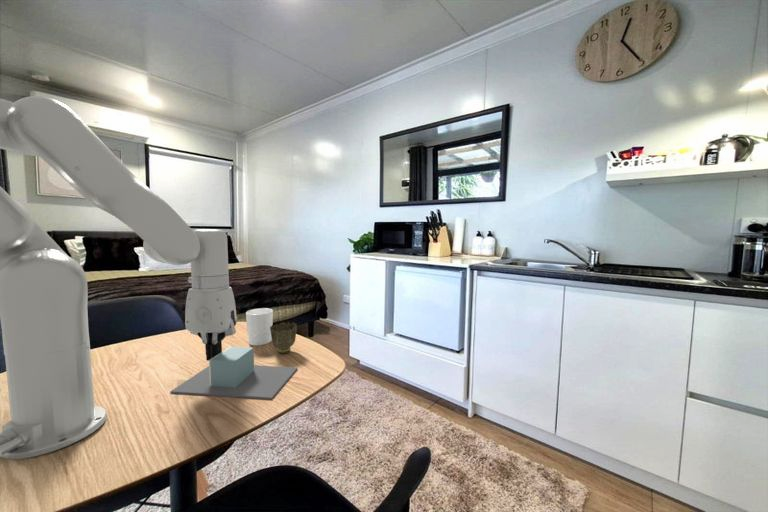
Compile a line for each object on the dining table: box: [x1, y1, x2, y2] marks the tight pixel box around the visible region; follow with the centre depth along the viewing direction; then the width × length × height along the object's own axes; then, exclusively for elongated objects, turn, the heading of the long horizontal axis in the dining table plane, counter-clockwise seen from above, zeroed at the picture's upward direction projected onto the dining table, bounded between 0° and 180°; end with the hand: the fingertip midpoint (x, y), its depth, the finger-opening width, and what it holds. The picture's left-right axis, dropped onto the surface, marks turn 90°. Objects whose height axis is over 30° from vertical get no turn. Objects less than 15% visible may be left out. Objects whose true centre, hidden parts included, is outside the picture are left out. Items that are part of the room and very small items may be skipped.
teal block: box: [208, 346, 255, 387], centre depth 70 cm, size 8×6×6 cm
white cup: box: [245, 307, 274, 347], centre depth 95 cm, size 8×8×10 cm
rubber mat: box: [170, 364, 298, 400], centre depth 70 cm, size 14×23×1 cm, turn 85°
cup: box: [270, 321, 298, 355], centre depth 87 cm, size 8×7×8 cm
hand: (214, 358), depth 71 cm, fingers closed
